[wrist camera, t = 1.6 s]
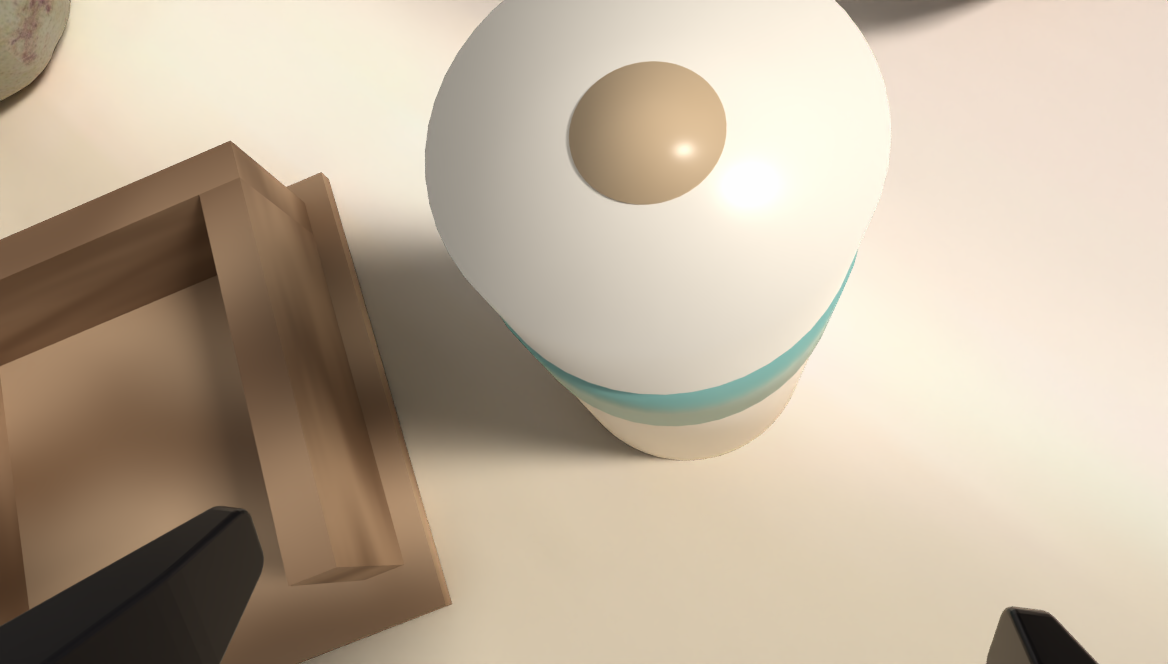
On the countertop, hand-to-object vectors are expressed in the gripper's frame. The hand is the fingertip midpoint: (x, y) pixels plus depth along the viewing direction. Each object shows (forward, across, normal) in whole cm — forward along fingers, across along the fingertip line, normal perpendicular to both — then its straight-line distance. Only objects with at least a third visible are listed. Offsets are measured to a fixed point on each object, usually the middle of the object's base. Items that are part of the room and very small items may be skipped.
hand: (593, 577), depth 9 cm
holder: (+10, +15, +8) cm, 19 cm away
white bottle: (+13, 0, +4) cm, 14 cm away
